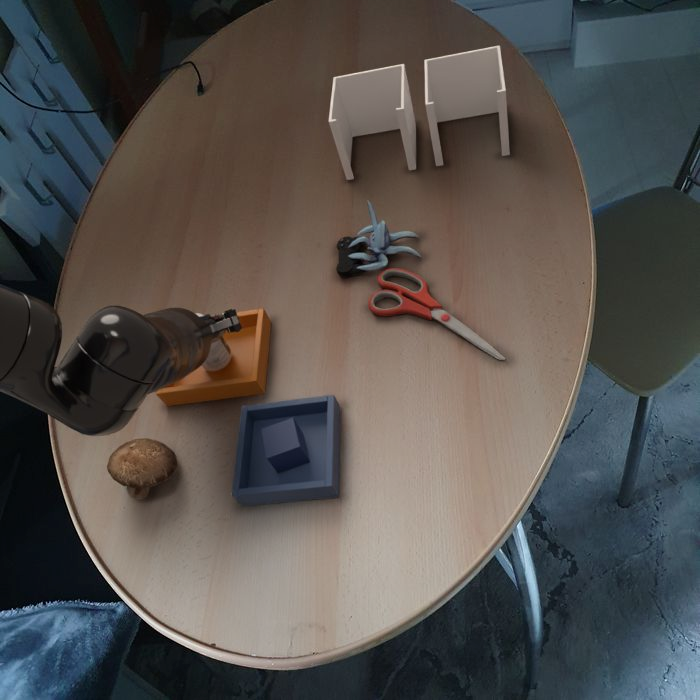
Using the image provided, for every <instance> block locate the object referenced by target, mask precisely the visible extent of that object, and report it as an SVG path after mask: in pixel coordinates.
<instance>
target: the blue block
mask: <svg viewBox="0 0 700 700" xmlns="http://www.w3.org/2000/svg"><path fill="white" fill-rule="evenodd" d="M261 433H262V438H263V443H264V448H265V453H266V458H267V460H268V461H269V462H270V464H271V465H272V466H273V468H274V469H275V470H276V471H277V473H281V472H284V471H287V470H289V469H292V468H295V467H298V466H301V465H303V464H306V463H309V462H310V459H309V455H308V451H307V447H306V443H305V439H304V435H303V433H302V431H301V429H300V428H299V426H298V425H297V423H296V421H295V420H294V418H290V419H288V420H285V421H282V422H279V423H276V424H274V425H271V426H268V427H265V428H262V429H261Z"/></svg>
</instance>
